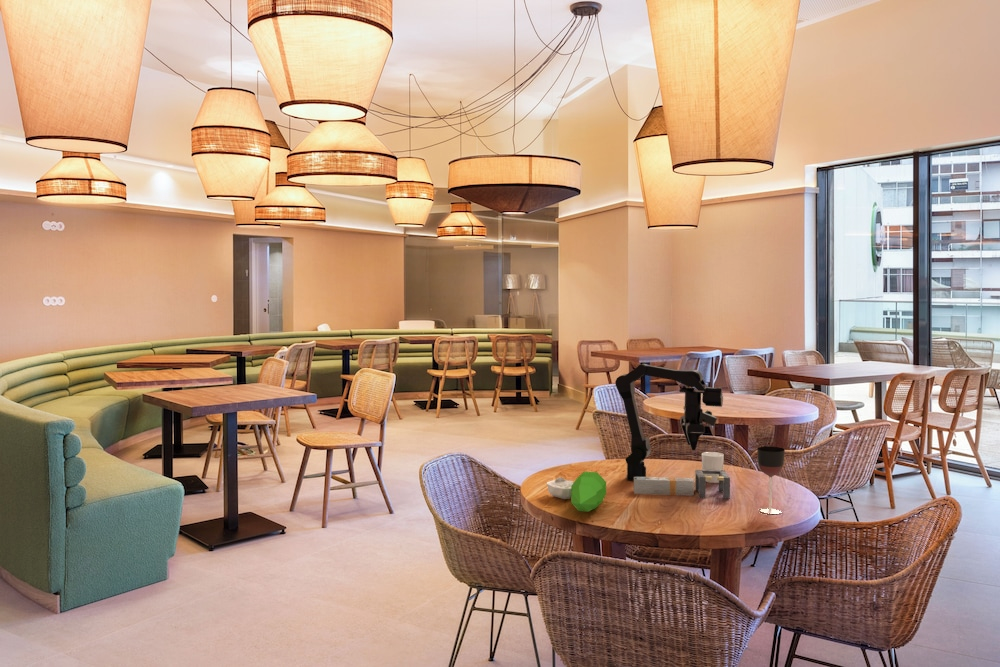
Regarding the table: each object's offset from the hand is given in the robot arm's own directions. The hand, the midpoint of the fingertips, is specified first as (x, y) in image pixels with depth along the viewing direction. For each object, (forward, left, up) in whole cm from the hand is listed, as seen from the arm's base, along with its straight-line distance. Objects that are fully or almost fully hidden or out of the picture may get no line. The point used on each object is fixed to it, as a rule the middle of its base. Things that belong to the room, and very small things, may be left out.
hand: (691, 447), depth 267 cm
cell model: (-46, -23, -14) cm, 53 cm away
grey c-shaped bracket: (+5, -13, -13) cm, 20 cm away
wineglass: (+20, -32, -14) cm, 41 cm away
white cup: (+8, +6, -14) cm, 17 cm away
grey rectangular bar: (-11, -13, -14) cm, 22 cm away
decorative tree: (-38, -36, -14) cm, 54 cm away
